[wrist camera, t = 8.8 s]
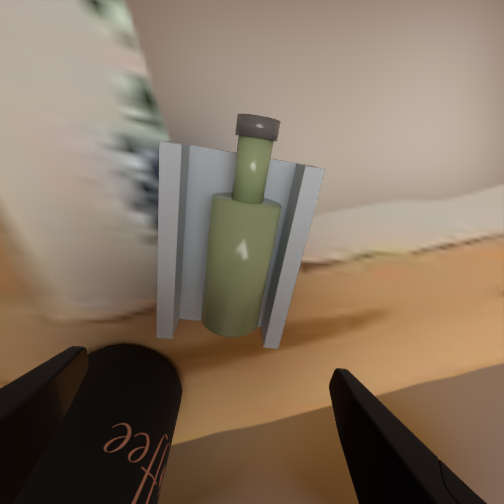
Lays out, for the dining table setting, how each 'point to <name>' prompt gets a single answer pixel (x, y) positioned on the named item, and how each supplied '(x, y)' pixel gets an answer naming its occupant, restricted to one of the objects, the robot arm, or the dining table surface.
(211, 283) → the oil bottle
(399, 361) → the dining table surface
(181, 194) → the u rest
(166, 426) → the coffee jar
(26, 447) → the robot arm
